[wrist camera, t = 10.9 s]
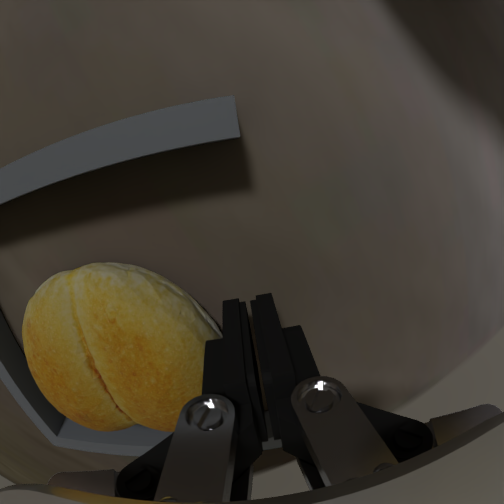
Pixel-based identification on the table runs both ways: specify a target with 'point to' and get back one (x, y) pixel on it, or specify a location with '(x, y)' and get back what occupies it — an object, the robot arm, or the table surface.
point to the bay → (77, 163)
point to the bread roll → (116, 346)
